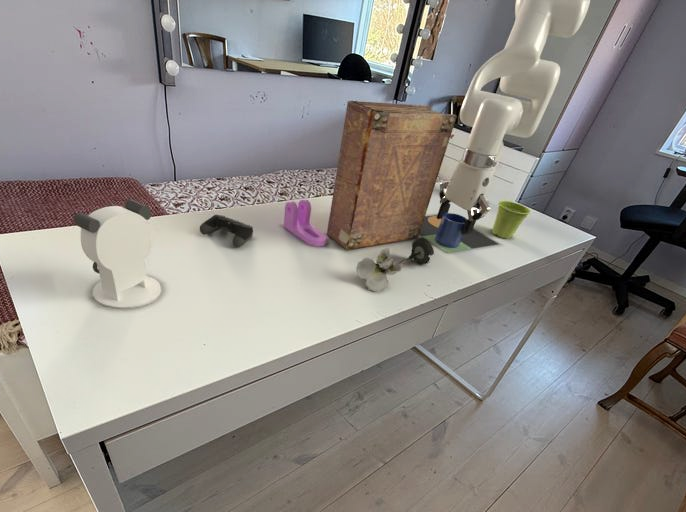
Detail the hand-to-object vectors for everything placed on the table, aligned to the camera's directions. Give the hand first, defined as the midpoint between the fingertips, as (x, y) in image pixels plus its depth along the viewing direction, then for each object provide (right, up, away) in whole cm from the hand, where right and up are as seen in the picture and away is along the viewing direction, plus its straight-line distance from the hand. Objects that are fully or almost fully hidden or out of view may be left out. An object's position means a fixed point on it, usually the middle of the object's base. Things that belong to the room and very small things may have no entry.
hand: (452, 225), depth 107 cm
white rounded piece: (-72, -24, -35) cm, 84 cm away
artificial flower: (-19, -17, -16) cm, 30 cm away
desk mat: (+1, +1, +9) cm, 9 cm away
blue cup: (-1, -4, +3) cm, 5 cm away
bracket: (-40, -5, -7) cm, 41 cm away
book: (-22, -4, -1) cm, 22 cm away
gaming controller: (-59, -8, -14) cm, 61 cm away
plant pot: (+20, +2, +14) cm, 24 cm away
